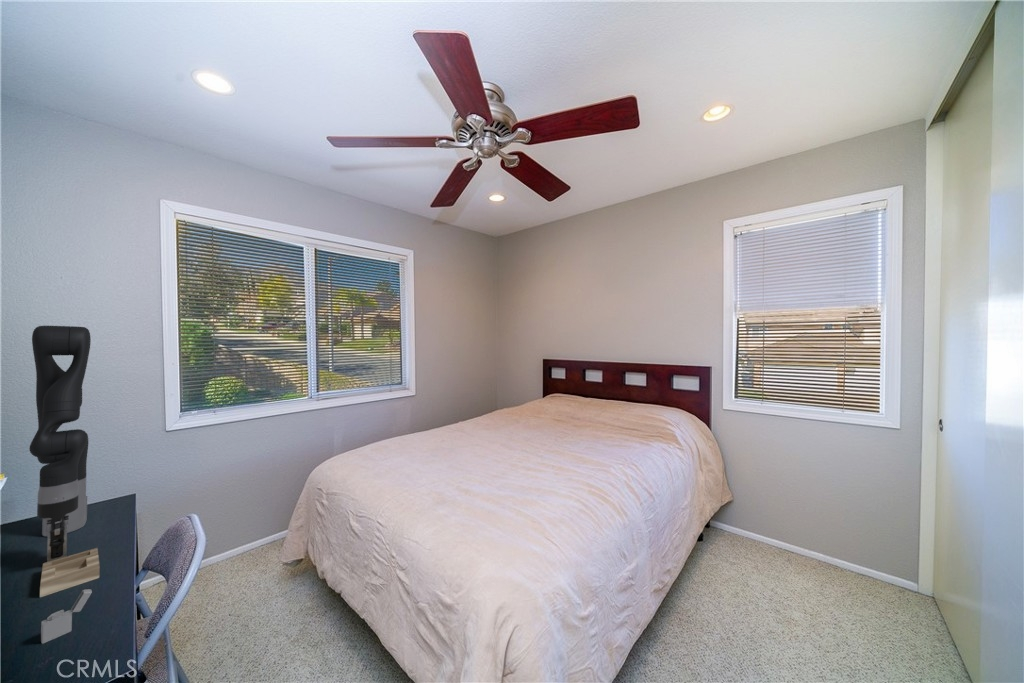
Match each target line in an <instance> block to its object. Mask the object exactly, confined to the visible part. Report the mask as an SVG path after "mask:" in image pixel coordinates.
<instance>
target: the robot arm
mask: <svg viewBox="0 0 1024 683" xmlns="http://www.w3.org/2000/svg"><path fill="white" fill-rule="evenodd" d="M31 341H32V342H31V344H32V351H33V358H34V364H35V365H34V366H35V372H36V374H35V375H36V378H35V379H36V383H35V386H36V387H35V391H36V392H35V398H36V399H35V400H36V401H35V402H36V411H37V421H38V423H37V424H38V429H37V431H36V433H35V435H34V436H33V438H32V440H31V443H30V445H29V452H30V454H31V455H32V456H33V457H36V458H37V460H38V462H39V463H40V464H42V465H43V466H42V467H41V468H40V469H39V486H38V492H37V503H36V504H37V511H36V516H37V518H38V519H42V523H41V524H42V525H41V526H42V527H41V535H42V536H43V537H47V540H48V539H50V544H49V546H50V547H51V559H54V558H57V557H61V556H62V555H63V544H64V542H65V540H64V535H66V534H67V535H68V534H69V533H72V532H75V531H77V530H79V529H81V528H83V527H84V526H85V525H86V522H87V520H88V518H87V517H88V496H87V460H88V451H89V435H88V433H87V432H86V431H85V430H84V429H78V428H77V429H75V428H74V429H68V430H59V429H60V427H61V426H62V425H63V424H68V423H72V422H75V421H77V420H79V418H80V414H81V407H82V405H83V383H84V379H85V376H86V375H85V374H86V371H87V365H88V361H89V355H90V350H91V333H90V330H89V329H88V328H87V327H85V326H70V325H39V326H36V327H35V328H34V329H33V330H32V337H31ZM53 356H73V358H72V361H71V363H70V366H69V367H68V368H67V369H66V370H64V369H63V368H62V367H60V366H59V364H58V363H57V362H56V360H55V359H54V357H53ZM58 430H59V431H58ZM57 539H61V540H59V541H55V542H53V541H54V540H57Z"/></svg>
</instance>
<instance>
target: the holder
mask: <svg viewBox="0 0 1024 683" xmlns="http://www.w3.org/2000/svg"><path fill="white" fill-rule="evenodd" d="M99 578H100V559H99V549H98V547H95V548H92V549H87V550H84V551H82V552H78V553H74V554H71V555H68V556H67V555H66V557H64V558H60V559H57V560H53V561H50V562H47V561H46V562H44V563H42V569H41V577H40V584H39V585H40V586H39V598H43V597H46V596H49V595H52V594H54V593H57V592H60V591H63V590H67V589H71V588H73V587H75V586H79V585H82V584H85V583H88V582H91V581H93V580H97V579H99Z"/></svg>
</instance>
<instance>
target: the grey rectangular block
mask: <svg viewBox="0 0 1024 683" xmlns="http://www.w3.org/2000/svg"><path fill="white" fill-rule="evenodd" d="M59 540H61V539H57V540H54V541H53V542H55V541H59ZM64 540H65V542H64V544H63V555H62V556H61V557H57V558H54V559H51V547H50V546H49V544H50V539H48V538H47V542H46V543H47V548H46V550H47V551H46V562H50V561H53V560H57V559H60V558H64V557H67V548H68V547H67V546H68V545H67V544H68V533H67V534H66V535H64Z"/></svg>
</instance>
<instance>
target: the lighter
mask: <svg viewBox="0 0 1024 683" xmlns="http://www.w3.org/2000/svg"><path fill="white" fill-rule="evenodd" d="M92 593H93V591H92V589H89V588H88V589H86V588H85V589H82V591H81V592H80V594H79V595H78V597H77V598H76V599H75V602H74V603H73V605H72V607H71V609H69V610H67V611H65V610H64V609H61V610H57V611H56V612H53V613H51V614H50V615H49V616H47V618H46V619H44V620H42V621H40V622H41V623H40V624H41V625H40V626H41V627H40V629H41V630H40V642H41V644H42V645H43V644H45V643H47V642H50V641H52V640H55V639H57V638H59V637H61V636H64V635H66V634H68V633H71V632H72V631H73V630H72V629H73V628H72V627H73V622H72V621H73V613H79V612H81V611H82V609H84V607H85V604H86V603H87V601H88V600H89V599H90V596H91V594H92Z"/></svg>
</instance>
